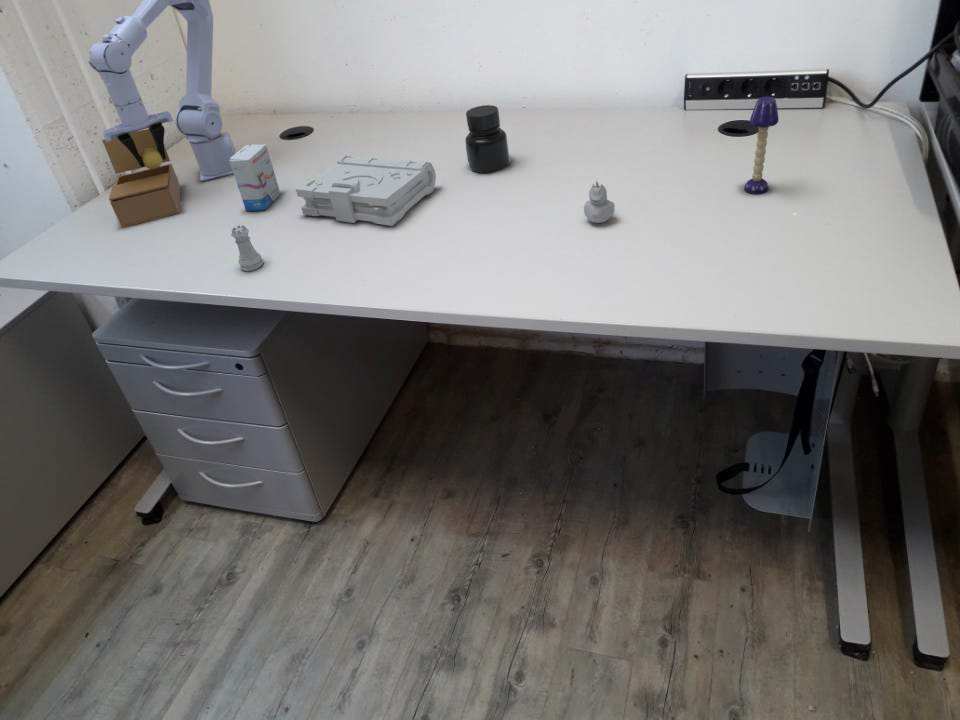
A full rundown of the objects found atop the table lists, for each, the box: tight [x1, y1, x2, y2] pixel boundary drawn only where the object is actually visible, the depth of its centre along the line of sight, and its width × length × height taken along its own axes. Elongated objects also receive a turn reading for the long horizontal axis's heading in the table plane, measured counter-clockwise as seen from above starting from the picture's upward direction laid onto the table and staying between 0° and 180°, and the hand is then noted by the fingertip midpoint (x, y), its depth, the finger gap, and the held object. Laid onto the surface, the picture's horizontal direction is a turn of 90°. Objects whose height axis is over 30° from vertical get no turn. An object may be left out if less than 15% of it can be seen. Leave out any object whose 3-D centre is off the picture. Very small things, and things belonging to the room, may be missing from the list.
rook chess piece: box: [231, 224, 264, 272], centre depth 140 cm, size 4×4×8 cm
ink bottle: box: [464, 104, 510, 174], centre depth 161 cm, size 10×9×12 cm
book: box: [295, 154, 437, 227], centre depth 156 cm, size 19×28×8 cm
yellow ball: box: [140, 148, 163, 169], centre depth 168 cm, size 5×5×5 cm
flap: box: [101, 128, 171, 175], centre depth 174 cm, size 8×12×1 cm
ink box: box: [230, 144, 281, 212], centre depth 162 cm, size 9×5×12 cm, turn 168°
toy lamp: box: [743, 96, 780, 195], centre depth 133 cm, size 5×5×17 cm
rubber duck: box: [583, 180, 616, 224], centre depth 135 cm, size 5×7×8 cm
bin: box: [108, 163, 182, 228], centre depth 171 cm, size 16×12×7 cm
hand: (153, 162), depth 169 cm, fingers closed on yellow ball, 4 cm apart
